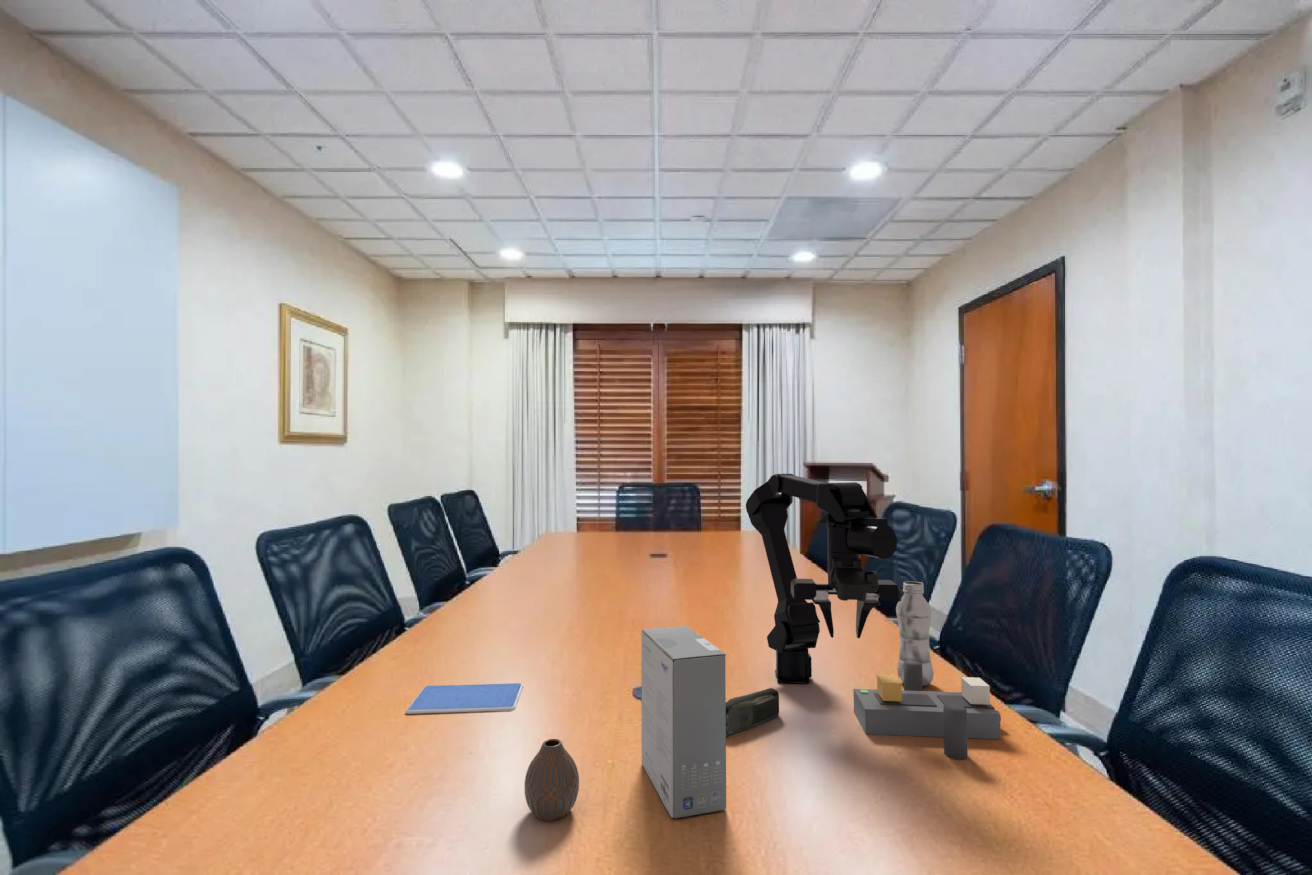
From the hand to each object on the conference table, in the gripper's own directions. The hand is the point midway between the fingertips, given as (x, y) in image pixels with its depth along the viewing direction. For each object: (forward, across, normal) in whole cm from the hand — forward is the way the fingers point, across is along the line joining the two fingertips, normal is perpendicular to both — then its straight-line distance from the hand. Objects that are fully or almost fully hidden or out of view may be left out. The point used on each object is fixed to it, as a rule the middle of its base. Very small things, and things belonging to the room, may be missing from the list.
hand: (845, 637), depth 113 cm
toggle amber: (+8, +6, -6) cm, 12 cm away
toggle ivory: (+8, +20, -6) cm, 22 cm away
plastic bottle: (+13, +16, +13) cm, 24 cm away
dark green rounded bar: (+13, -18, -9) cm, 24 cm away
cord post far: (+12, +13, +4) cm, 18 cm away
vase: (+13, -44, -38) cm, 60 cm away
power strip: (+12, +12, -6) cm, 18 cm away
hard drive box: (+13, -28, -30) cm, 43 cm away
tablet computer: (+13, -70, -3) cm, 71 cm away
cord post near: (+12, +13, -17) cm, 25 cm away
